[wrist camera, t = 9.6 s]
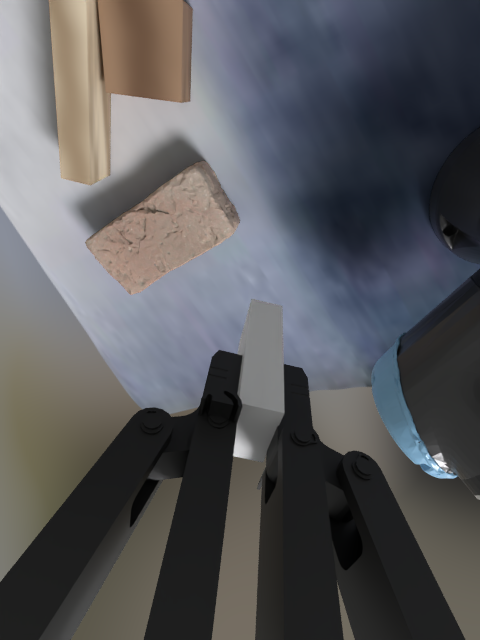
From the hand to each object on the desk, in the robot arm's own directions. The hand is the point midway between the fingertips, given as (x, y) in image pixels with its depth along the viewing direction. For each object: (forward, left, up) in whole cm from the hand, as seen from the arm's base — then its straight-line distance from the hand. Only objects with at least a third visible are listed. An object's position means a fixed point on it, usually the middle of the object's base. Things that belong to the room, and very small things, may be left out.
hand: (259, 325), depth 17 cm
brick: (+11, +7, -27) cm, 30 cm away
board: (+19, -8, -26) cm, 34 cm away
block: (+14, -10, -27) cm, 32 cm away
